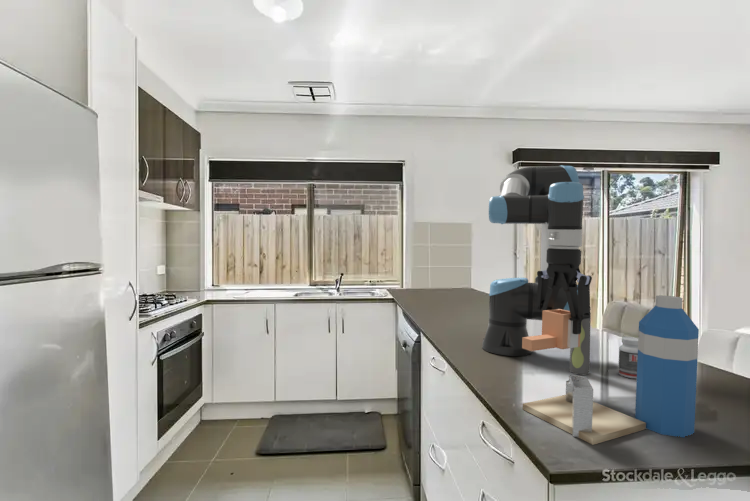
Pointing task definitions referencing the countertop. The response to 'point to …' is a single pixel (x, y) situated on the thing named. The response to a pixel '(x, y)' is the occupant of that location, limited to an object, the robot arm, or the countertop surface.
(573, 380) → the block
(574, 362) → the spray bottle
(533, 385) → the countertop surface
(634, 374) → the pill bottle
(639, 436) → the countertop surface
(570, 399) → the pintle
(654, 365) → the water bottle
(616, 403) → the countertop surface
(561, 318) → the link
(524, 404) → the board
